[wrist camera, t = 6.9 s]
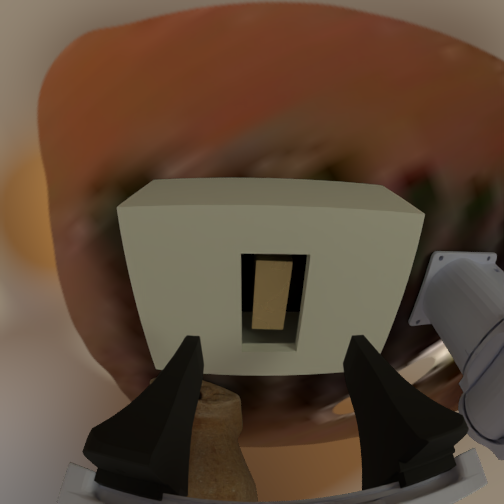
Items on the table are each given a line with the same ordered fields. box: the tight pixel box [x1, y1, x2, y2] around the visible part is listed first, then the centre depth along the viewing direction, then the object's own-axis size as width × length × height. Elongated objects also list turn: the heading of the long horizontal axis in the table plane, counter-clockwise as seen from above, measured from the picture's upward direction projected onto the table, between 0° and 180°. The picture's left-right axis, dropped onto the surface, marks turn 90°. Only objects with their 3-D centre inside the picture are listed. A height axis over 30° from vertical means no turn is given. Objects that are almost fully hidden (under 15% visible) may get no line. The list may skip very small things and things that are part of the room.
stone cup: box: [150, 378, 258, 502], centre depth 24 cm, size 15×12×15 cm
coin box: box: [117, 178, 425, 376], centre depth 18 cm, size 16×12×6 cm
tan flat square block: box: [252, 254, 293, 330], centre depth 19 cm, size 2×5×5 cm, turn 177°
